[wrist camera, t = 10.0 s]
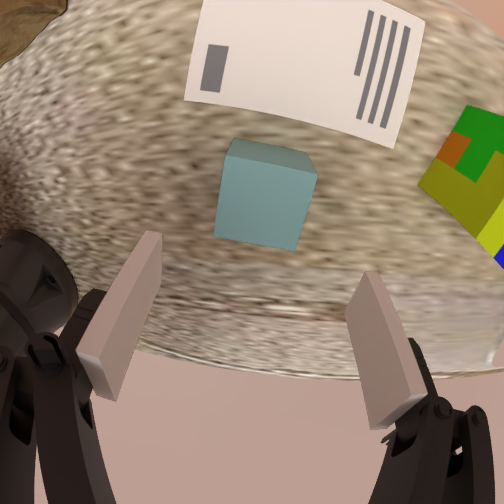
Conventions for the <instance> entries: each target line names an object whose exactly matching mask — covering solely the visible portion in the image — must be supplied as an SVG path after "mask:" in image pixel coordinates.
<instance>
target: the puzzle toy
mask: <svg viewBox="0 0 504 504" xmlns="http://www.w3.org/2000/svg"><path fill="white" fill-rule="evenodd" d="M417 185H419V186H420V187H421V188H422V189H423V190H424V191H426V192H427V193H428V194H429V195H430V196H431V197H432V198H434V199H435V200H436V201H437V202H438V203H439V204H440V205H441V206H442V207H444V208H445V209H446V210H447V211H448V212H449V213H450V214H451V215H452V216H453V217H454V218H455V219H456V220H457V221H458V222H459V223H460V224H461V225H462V226H463V227H464V228H465V229H466V230H467V231H468V232H469V233H470V234H471V235H472V236H473V237H474V238H475V239H476V240H477V241H478V242H479V243H480V244H481V245H482V246H483V247H484V248H485V249H486V250H487V251H488V252H489V253H490V255H491V256H492V257H493V258H494V259H495V260H496V261H497V262H498V263H499V265H500V266H501V267H502V268H503V269H504V116H501V115H498V114H495V113H492V112H489V111H485V110H482V109H479V108H475V107H472V106H468V105H467V106H466V108H465V109H464V111H463V113H462V115H461V116H460V118H459V120H458V122H457V123H456V125H455V127H454V128H453V130H452V132H451V133H450V135H449V137H448V138H447V140H446V141H445V143H444V145H443V146H442V148H441V149H440V151H439V153H438V154H437V156H436V157H435V159H434V160H433V162H432V163H431V165H430V166H429V168H428V169H427V171H426V172H425V174H424V175H423V177H422V178H421V180H420V181H419V183H418V184H417Z"/></svg>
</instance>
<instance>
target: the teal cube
mask: <svg viewBox="0 0 504 504" xmlns="http://www.w3.org/2000/svg"><path fill="white" fill-rule="evenodd" d="M317 177H318V173H317V171H316V170H315V168H314V166H313V164H312V162H311V161H310V159H309V157H308V155H307V154H306V153H305V152H301V151H297V150H292V149H288V148H283V147H279V146H274V145H269V144H264V143H259V142H254V141H249V140H244V139H238V138H234V140H233V142H232V144H231V146H230V148H229V150H228V152H227V154H226V156H225V162H224V168H223V174H222V180H221V186H220V192H219V199H218V205H217V212H216V219H215V225H214V232H213V237H219V238H225V239H230V240H236V241H241V242H246V243H252V244H257V245H263V246H268V247H274V248H279V249H284V250H290V251H295V249H296V246H297V243H298V240H299V236H300V233H301V230H302V227H303V224H304V220H305V217H306V214H307V211H308V207H309V204H310V201H311V198H312V194H313V191H314V188H315V184H316V181H317Z"/></svg>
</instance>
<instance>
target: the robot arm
mask: <svg viewBox="0 0 504 504" xmlns="http://www.w3.org/2000/svg"><path fill="white" fill-rule="evenodd" d="M162 235H163V233H158V232H152V231H147V230H146V231H145V233H144V234H143V236H142V237H141V239H140V240H139V242H138V243H137V245H136V247H135V248H134V250H133V251H132V253H131V254H130V256H129V257H128V259H127V261H126V262H125V264H124V265H123V267H122V269H121V270H120V272H119V273H118V275H117V277H116V278H115V280H114V282H113V283H112V285H111V287H110V288H109V290H108V292H106V291H103V290H99V289H95V288H94V289H92V290H91V291H90V292H88V293H87V294H86V295H84V296H83V298H82V299H81V301H80V302H79V304H78V306H77V303H78V294H77V289H76V286H75V283H74V280H73V278H72V276H71V274H70V272H69V270H68V269H67V267H66V266H65V264H64V263H63V261H62V260H61V259H60V257H59V256H58V255H57V254H56V253H55V252H54V250H53V249H52V248H51V247H50V246H48V245H47V244H46V243H45V242H44V241H43V240H41V239H40V238H38V237H37V236H35V235H33V234H31V233H29V232H27V231H23V230H12V231H10V232H8V233H7V234H6V235H4V236H3V237H2V238H1V239H0V504H34V476H35V459H36V447H38V454H39V461H40V467H41V472H42V477H43V483H44V487H45V492H46V496H47V500H48V504H116V501H115V498H114V495H113V492H112V489H111V486H110V483H109V479H108V476H107V472H106V469H105V465H104V461H103V457H102V454H101V449H100V445H99V440H98V436H97V431H96V426H95V421H94V415H93V409H92V403H91V400H90V398H89V397H90V394H91V391H92V389H94V391H95V393H96V395H97V396H100V397H103V398H106V399H109V400H112V401H115V402H116V401H117V398H118V394H119V392H120V389H121V385H122V383H123V380H124V377H125V374H126V371H127V369H128V366H129V363H130V360H131V358H132V355H133V352H134V350H135V347H136V344H137V342H138V339H139V336H140V334H141V331H142V329H143V326H144V324H145V321H146V319H147V316H148V314H149V311H150V309H151V306H152V304H153V302H154V299H155V297H156V294H157V292H158V290H159V287H160V285H161V283H162ZM76 307H77V308H76ZM344 315H345V319H346V322H347V326H348V330H349V334H350V338H351V342H352V346H353V350H354V354H355V359H356V363H357V367H358V372H359V376H360V381H361V385H362V390H363V394H364V399H365V404H366V409H367V414H368V420H369V425H370V430H378V429H386V428H388V427H389V426H390V425H392V424H393V423H394V422H395V425H396V429H395V430H394V431H392V432H391V433H390V434H388V435H387V436H385V437H384V438H383V439H382V441H381V443H384V442H386V441H387V440H389V439H390V440H389V442H388V443H387V444H386V445H388V447H387V450H386V454H385V457H384V460H383V464H382V467H381V470H380V473H379V476H378V479H377V482H376V484H375V487H374V490H373V493H372V495H371V498H370V500H369V503H368V504H495V481H494V465H493V455H492V447H491V439H490V432H489V426H488V420H487V416H486V414H485V412H484V411H483V409H482V408H480V407H479V406H476V405H474V406H471V407H470V408H469V409H468V410H466V412H463V411H460V410H455V409H453V408H452V406H451V404H450V403H449V401H448V400H446V399H445V398H443V397H439V396H438V394H437V391H436V388H435V385H434V383H433V380H432V377H431V374H430V372H429V369H428V367H427V364H426V361H425V359H424V356H423V354H422V351H421V349H420V347H419V345H418V344H417V343H416V342H415V340H414V339H413V338H407V335H406V333H405V331H404V328H403V326H402V323H401V321H400V319H399V316H398V314H397V312H396V309H395V307H394V305H393V303H392V300H391V298H390V296H389V294H388V292H387V289H386V287H385V285H384V283H383V281H382V279H381V277H380V274H379V273H375V272H369V271H365V273H364V275H363V277H362V279H361V281H360V283H359V285H358V287H357V289H356V291H355V292H354V294H353V296H352V298H351V300H350V302H349V304H348V306H347V308H346V310H345V311H344ZM71 316H72V317H71ZM67 321H68V322H67ZM65 323H67V324H66V325H65V327H64V329H63V331H62V332H61V334H60V336H59V337H58V336H57V335H55V334H53V333H54V332H55V331H56V330H57V329H59V328H60V327H62V326H63V325H64V324H65ZM461 446H462V452H461V453H460V454H458V455H457V454H456V452H455V450H456V449H458V448H460V447H461Z"/></svg>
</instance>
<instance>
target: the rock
mask: <svg viewBox="0 0 504 504" xmlns="http://www.w3.org/2000/svg"><path fill="white" fill-rule="evenodd" d="M66 1H67V0H0V68H1V67H2V65H3V64H4V63H6V62H7V61H9V60H10V59H13V58H14V57H15V56H18V55H19V54H20V53H21V52H22V51H23V50H24V49H25V48H26V47H27V46H28V45H29V43H30V42H31V41H33V39H34V38H35V36H36V35H37V34H38V33H39V32H41V31H42V30H43V29H44V28H45V27H46V25H47V24H48V23H49V22H50V21H51V20H52V19H54V18H56V17H57V16H59V15H61V14H62V13H63V12H64V11H65V10H66Z"/></svg>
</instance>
